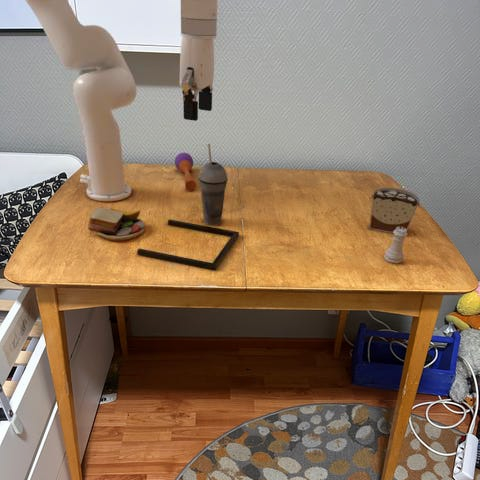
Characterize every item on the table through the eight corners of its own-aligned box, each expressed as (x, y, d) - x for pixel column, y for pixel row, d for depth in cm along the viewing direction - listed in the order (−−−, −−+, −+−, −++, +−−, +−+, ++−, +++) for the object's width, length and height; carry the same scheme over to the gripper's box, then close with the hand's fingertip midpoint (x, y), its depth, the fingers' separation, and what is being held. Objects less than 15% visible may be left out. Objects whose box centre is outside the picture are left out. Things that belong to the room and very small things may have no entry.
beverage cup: (222, 229, 121) (224, 150, 109) (195, 225, 122) (194, 147, 110) (229, 217, 126) (231, 141, 114) (202, 214, 127) (202, 138, 115)
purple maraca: (179, 178, 137) (172, 151, 151) (183, 196, 141) (176, 168, 156) (198, 174, 137) (190, 148, 152) (202, 192, 141) (193, 165, 156)
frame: (137, 254, 108) (137, 250, 107) (169, 223, 122) (169, 219, 121) (214, 270, 104) (215, 265, 103) (238, 236, 118) (239, 231, 117)
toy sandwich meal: (133, 245, 111) (131, 227, 109) (81, 237, 113) (78, 219, 111) (153, 223, 121) (152, 206, 118) (105, 216, 123) (102, 199, 120)
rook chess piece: (380, 255, 114) (388, 224, 109) (398, 255, 114) (407, 224, 109) (386, 264, 110) (395, 233, 105) (405, 264, 110) (414, 233, 106)
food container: (412, 227, 127) (422, 191, 121) (410, 236, 123) (421, 200, 116) (366, 218, 130) (374, 183, 124) (363, 227, 125) (371, 191, 119)
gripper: (196, 23, 105) (195, 104, 116) (165, 30, 92) (168, 121, 102) (227, 26, 104) (224, 108, 114) (201, 34, 91) (200, 126, 101)
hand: (198, 114), depth 108 cm, fingers open, 9 cm apart
